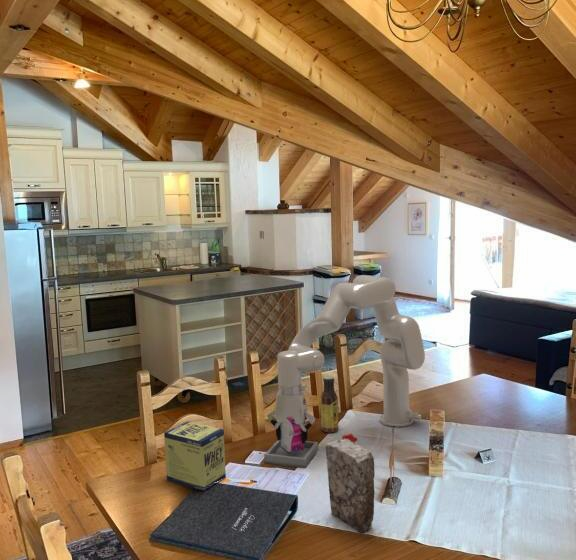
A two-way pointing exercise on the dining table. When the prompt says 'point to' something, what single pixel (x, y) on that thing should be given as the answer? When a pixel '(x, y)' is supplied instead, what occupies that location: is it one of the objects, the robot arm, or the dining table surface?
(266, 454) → the slate tray
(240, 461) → the dining table surface
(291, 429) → the supplement box
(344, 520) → the stone block
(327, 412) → the sauce bottle
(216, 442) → the protein box
